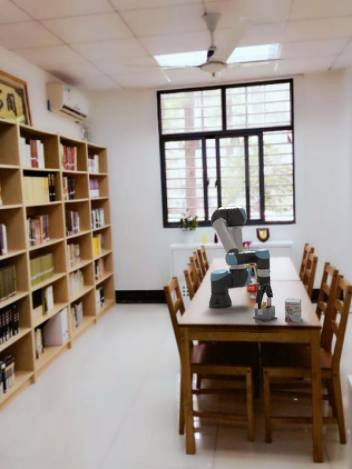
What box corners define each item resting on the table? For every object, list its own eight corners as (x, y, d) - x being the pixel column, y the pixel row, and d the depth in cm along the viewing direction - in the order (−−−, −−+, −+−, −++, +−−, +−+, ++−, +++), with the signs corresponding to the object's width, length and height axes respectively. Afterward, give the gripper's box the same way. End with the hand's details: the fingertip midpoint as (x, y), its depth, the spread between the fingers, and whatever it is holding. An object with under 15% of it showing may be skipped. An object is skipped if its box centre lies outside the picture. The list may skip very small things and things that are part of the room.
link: (254, 318, 256) (254, 308, 255) (261, 314, 263) (260, 304, 263) (269, 320, 251) (269, 309, 250) (275, 315, 258) (275, 305, 258)
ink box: (284, 321, 249) (284, 301, 248) (286, 317, 257) (286, 297, 256) (300, 322, 246) (300, 301, 245) (301, 318, 254) (301, 298, 253)
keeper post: (253, 317, 259) (252, 301, 258) (266, 314, 264) (266, 298, 263) (263, 321, 250) (262, 305, 249) (277, 318, 255) (276, 302, 254)
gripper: (261, 280, 242) (262, 317, 244) (277, 272, 263) (278, 306, 265) (248, 279, 246) (250, 316, 249) (265, 271, 267) (267, 305, 269)
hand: (264, 311), depth 257 cm, fingers open, 13 cm apart
